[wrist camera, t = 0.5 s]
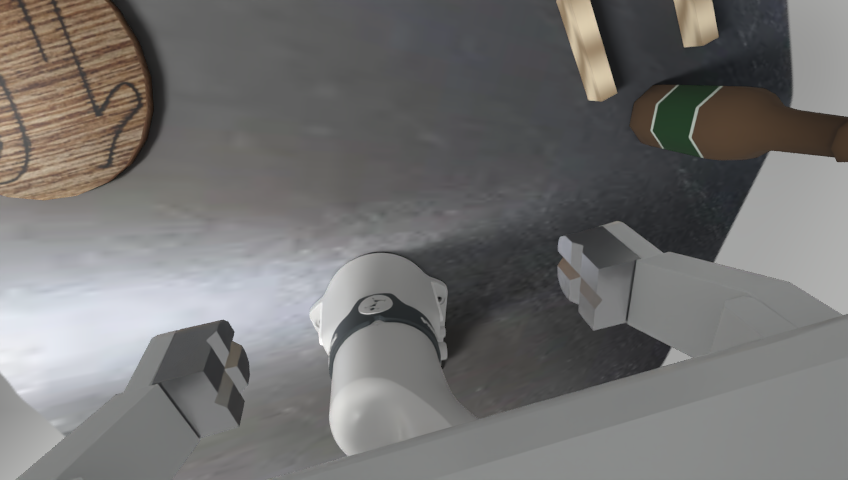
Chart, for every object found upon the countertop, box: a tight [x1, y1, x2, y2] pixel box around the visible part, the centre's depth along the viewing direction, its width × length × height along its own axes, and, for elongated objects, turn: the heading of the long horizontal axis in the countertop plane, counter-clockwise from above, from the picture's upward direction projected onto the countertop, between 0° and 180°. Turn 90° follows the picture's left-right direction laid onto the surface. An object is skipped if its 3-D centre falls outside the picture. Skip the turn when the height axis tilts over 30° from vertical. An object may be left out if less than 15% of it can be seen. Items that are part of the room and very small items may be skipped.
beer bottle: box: [629, 85, 848, 162], centre depth 42 cm, size 8×8×24 cm
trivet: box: [0, 0, 154, 200], centre depth 41 cm, size 25×25×2 cm
